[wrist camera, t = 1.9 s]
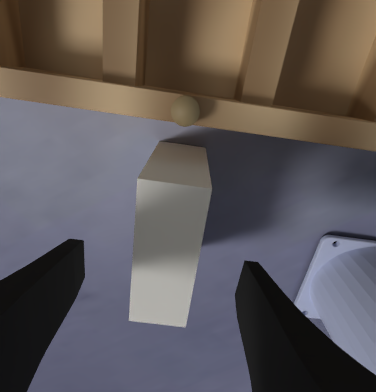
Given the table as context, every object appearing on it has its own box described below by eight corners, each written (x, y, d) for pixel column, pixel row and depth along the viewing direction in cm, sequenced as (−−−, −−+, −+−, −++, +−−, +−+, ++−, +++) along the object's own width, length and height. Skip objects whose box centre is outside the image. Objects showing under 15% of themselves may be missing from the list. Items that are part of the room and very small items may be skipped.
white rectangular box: (205, 147, 17) (212, 188, 10) (188, 248, 20) (185, 327, 14) (159, 141, 17) (137, 178, 10) (150, 243, 20) (128, 320, 13)
